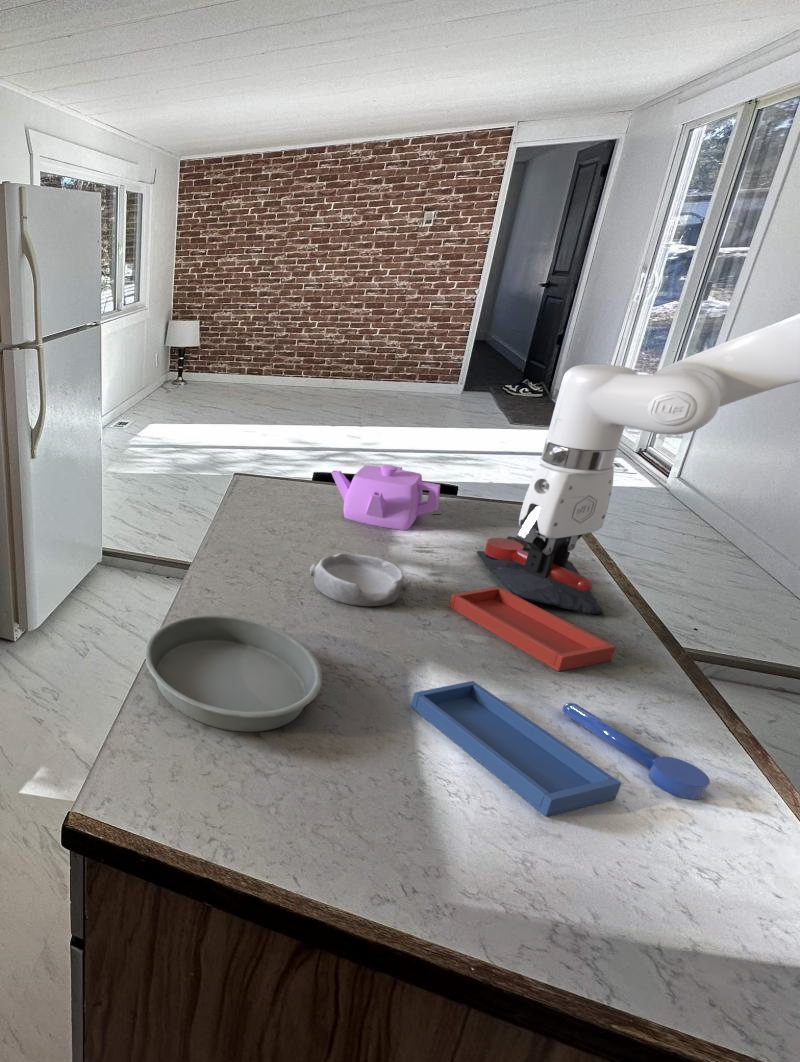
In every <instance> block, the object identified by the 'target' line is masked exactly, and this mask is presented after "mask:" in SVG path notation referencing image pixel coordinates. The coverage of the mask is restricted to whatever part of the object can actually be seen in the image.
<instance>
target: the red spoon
mask: <svg viewBox="0 0 800 1062" xmlns="http://www.w3.org/2000/svg"><path fill="white" fill-rule="evenodd" d="M523 548H524V547H523V545H522V544H521V543H519V542H517V541H514V540H511V539H507V537H491V538H488V539H487V540H486V543H485V548H484V551H485V554H486V555H488V556H490V557H492V558H495V559H498V560H503V561H515V562H517V563H519V564H522V565H524V566H525V563H526V560H527V556H528V552H525V551H523ZM579 574H580V573H579ZM579 574H576V573H574V572H572V571H569V570H567V569H565V568H562V567H560V566H558V565H555V564H553V563H552V566H551V569H550V572H549V576H548V577H550V578H553V579H555V580H557V581H559V582H561V583H564V584H566V585H568V586H570V587H572V588H575V589H577V590H579V591H583V592H585V591H589V590H591V591H592V588H593V587H594V584H593V581H592V580H591V579H590V578H588V577H585V576H583V575H581V574H580V575H579Z"/></svg>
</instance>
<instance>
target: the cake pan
mask: <svg viewBox="0 0 800 1062" xmlns="http://www.w3.org/2000/svg"><path fill="white" fill-rule="evenodd" d="M148 654H149V655H148ZM145 659H146V661H145V664H146V666H147V669H148V671H149V673H150V674H151V676H152V677H153V678H154V680H155V682H156V685H157V687H158V689H159V692H160V694H161V695H162V696H163V697H164V698H165V700H166V701H167V702H168V703H169V704H170V705H171V706H172V707H173V708H175V709H176V710H178V711H179V712H180V713H182V714H184V715H185V716H187V717H188V718H190V719H192V720H194V721H197V722H198V723H201V724H204V725H207V726H209V727H213V728H217V729H221V730H226V731H232V732H246V733H253V732H254V733H257V732H264V731H270V730H274V729H278V728H280V727H283V726H285V725H287V724H290V723H291V722H292V721H294V720H295V719H297V717H298V716H299V715H300V714H301V713H302V712H303V710H304V709H305V706H307V705H309V704H310V703H311V702H312V701H313V700H314V699H316V697H317V696H318V695H319V692H320V690H321V688H322V685H323V673H322V668H321V666H320V664H319V662H318V660H317V658H316V657H315V656H314V654H313V652H312V651H310V650H309V648H307V647H306V645H304V644H303V643H302V642H300V641H299V640H298V639H296V638H295V637H293V636H292V635H290V634H288V633H287V632H285V631H283V630H281V629H279V628H276V627H274V626H272V625H271V624H270V625H269V624H266V623H264V622H261V621H258V620H254V619H250V618H246V617H242V616H235V615H226V614H199V615H198V614H197V615H191V616H185V617H181V618H177V619H174V620H173V621H170V622H168V623H165V624H164V625H162V626H160V627H159V628H158V629H156V630H155V631H154V632H153V633H152V635H150V637H149V638H148V639H147V642H146V644H145V647H144V660H145Z"/></svg>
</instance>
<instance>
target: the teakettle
mask: <svg viewBox="0 0 800 1062" xmlns="http://www.w3.org/2000/svg"><path fill="white" fill-rule="evenodd" d="M330 473H331V476H332V478H333V480H334V482H335V486H336V487H337V489H338V491H339V494H340V495H341V498H342V501H343V502H344V503H343V516H344V519H347V520H350V521H354V522H357V523H360V524H361V523H362V524H366V525H370V526H375V527H381V528H386V529H392V530H398V531H408V530H409V529H410V528H411V526H413V524H414V523H415V521H416V519H417V517H418V516H420V515H424V514H429V513H433V512H437V510H438V509H439V505H440V495H441V494H440V493H441V484H438V483H432V482H428V481H424V480H423V477H422V476H423V475H422V473H419V472H416V471H410V470H406V469H405V470H403V467H402V466H396V465H392V464H383V465H380V466H378V465H369V464H368V465H367V464H366V465H364V466H362V467H361V468H360V469H359V470H358V471H357V472H356V473H355V474H354V475H353V477H352V480H351V481H350V480H349V479H348V478H347V477H346V475H345V474H344V473H343V472H342V470H332V471H331V472H330ZM423 491H428V496H427V500H426V501H424V502H423Z"/></svg>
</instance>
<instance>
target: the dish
mask: <svg viewBox="0 0 800 1062" xmlns="http://www.w3.org/2000/svg"><path fill="white" fill-rule="evenodd" d="M309 575H310V576H311V577H313V582H314V586H315V588H316V589H317V590H318V591H319V592H320V593H322V594H323V595H325V596H326V597H328V598H330V599H332V600H334V601H337V602H339V603H343V604H347V605H350V606H357V607H359V606H360V607H379V606H386V605H389V604H392V603H395V602H396V601H397V599H398V598H399V596H400V595H401V593H402V592H405V593H406V592H408V591H409V590H410V589H411V585H412V579H410V578H406V577H405V576H404V573H403V571H402V570H401V568H400V567H398V566H397V564H395V563H392V562H391V561H386V560H385V559H383V558H380V557H376V556H371V555H365V554H360V553H359V554H358V553H351V552H350V553H349V552H340V553H339V552H338V553H337V554H334V555H330V554H329V555H326V556H324V557H323V558H322V559H320V561H319V562H318V563H317V564H316V563H313V564H311V567H310V569H309Z"/></svg>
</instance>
